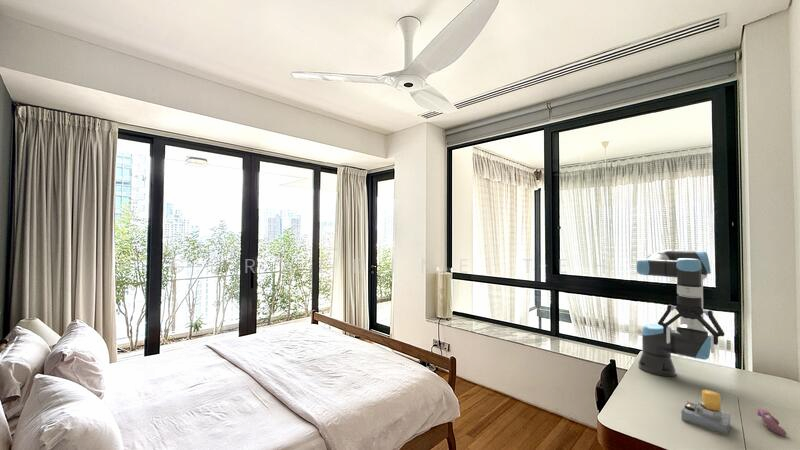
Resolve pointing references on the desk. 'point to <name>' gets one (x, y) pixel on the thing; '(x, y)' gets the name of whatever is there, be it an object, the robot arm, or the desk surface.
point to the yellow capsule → (711, 400)
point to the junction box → (706, 417)
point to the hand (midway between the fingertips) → (689, 347)
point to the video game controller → (770, 421)
